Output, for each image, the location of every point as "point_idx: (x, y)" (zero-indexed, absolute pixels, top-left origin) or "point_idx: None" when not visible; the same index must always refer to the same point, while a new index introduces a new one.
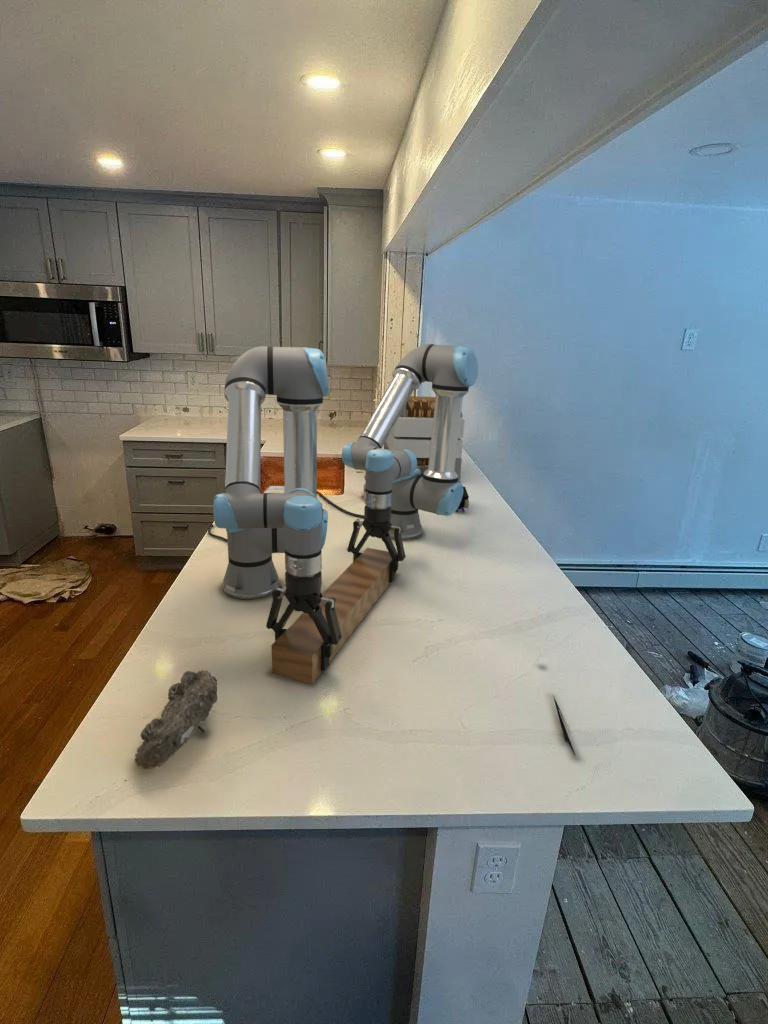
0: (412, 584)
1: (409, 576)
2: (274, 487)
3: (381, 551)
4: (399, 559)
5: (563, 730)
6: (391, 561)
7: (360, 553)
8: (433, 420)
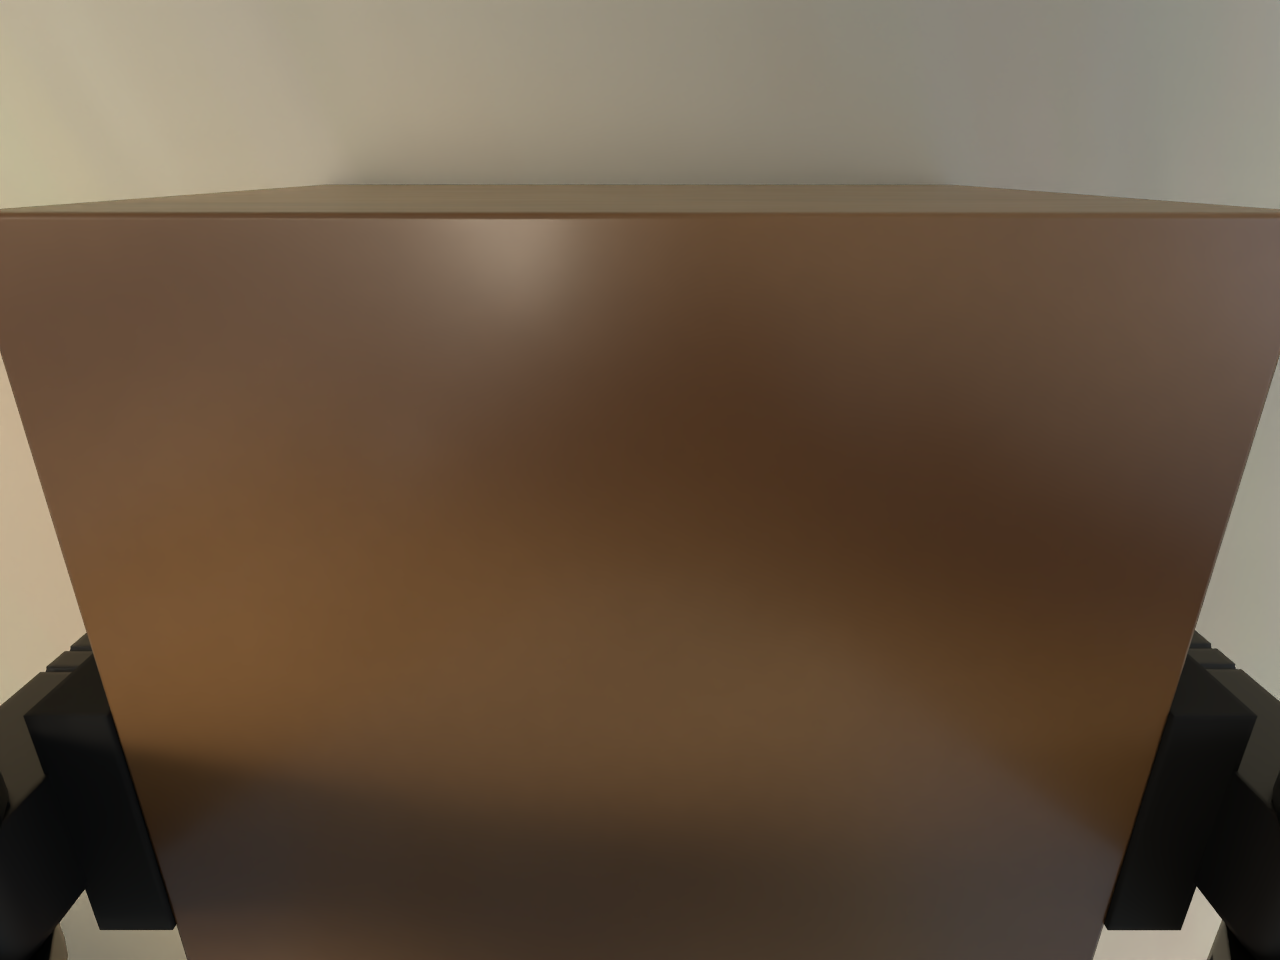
0: (1275, 437)
1: (1214, 147)
2: None
3: (644, 341)
4: None
5: None
6: (1140, 887)
7: (97, 773)
8: None
